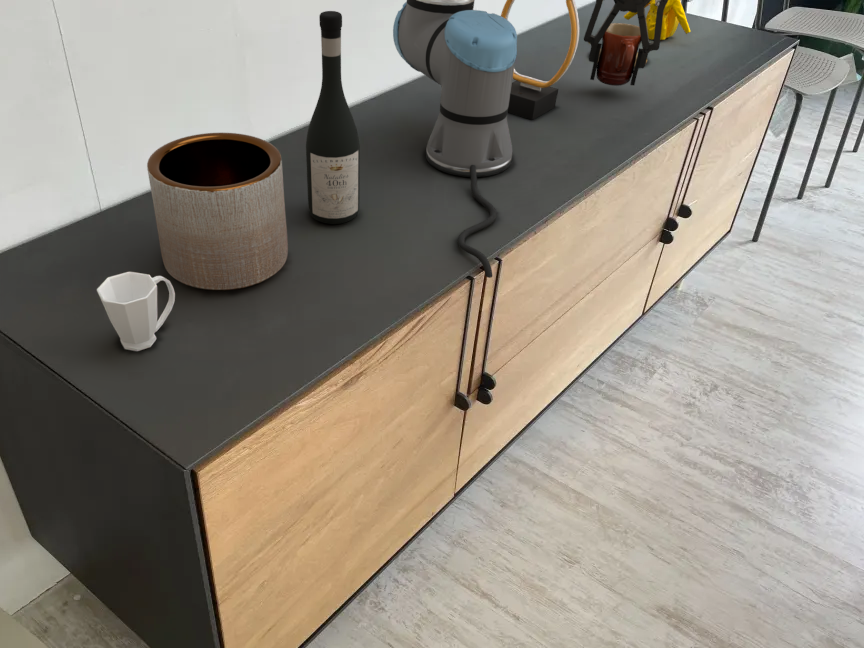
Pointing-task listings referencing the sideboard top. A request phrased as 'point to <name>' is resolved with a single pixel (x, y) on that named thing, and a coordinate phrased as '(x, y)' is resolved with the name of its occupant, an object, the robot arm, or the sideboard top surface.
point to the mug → (618, 54)
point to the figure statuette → (665, 19)
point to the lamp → (536, 94)
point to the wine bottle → (332, 138)
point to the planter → (219, 210)
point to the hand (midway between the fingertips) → (612, 80)
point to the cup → (134, 307)
